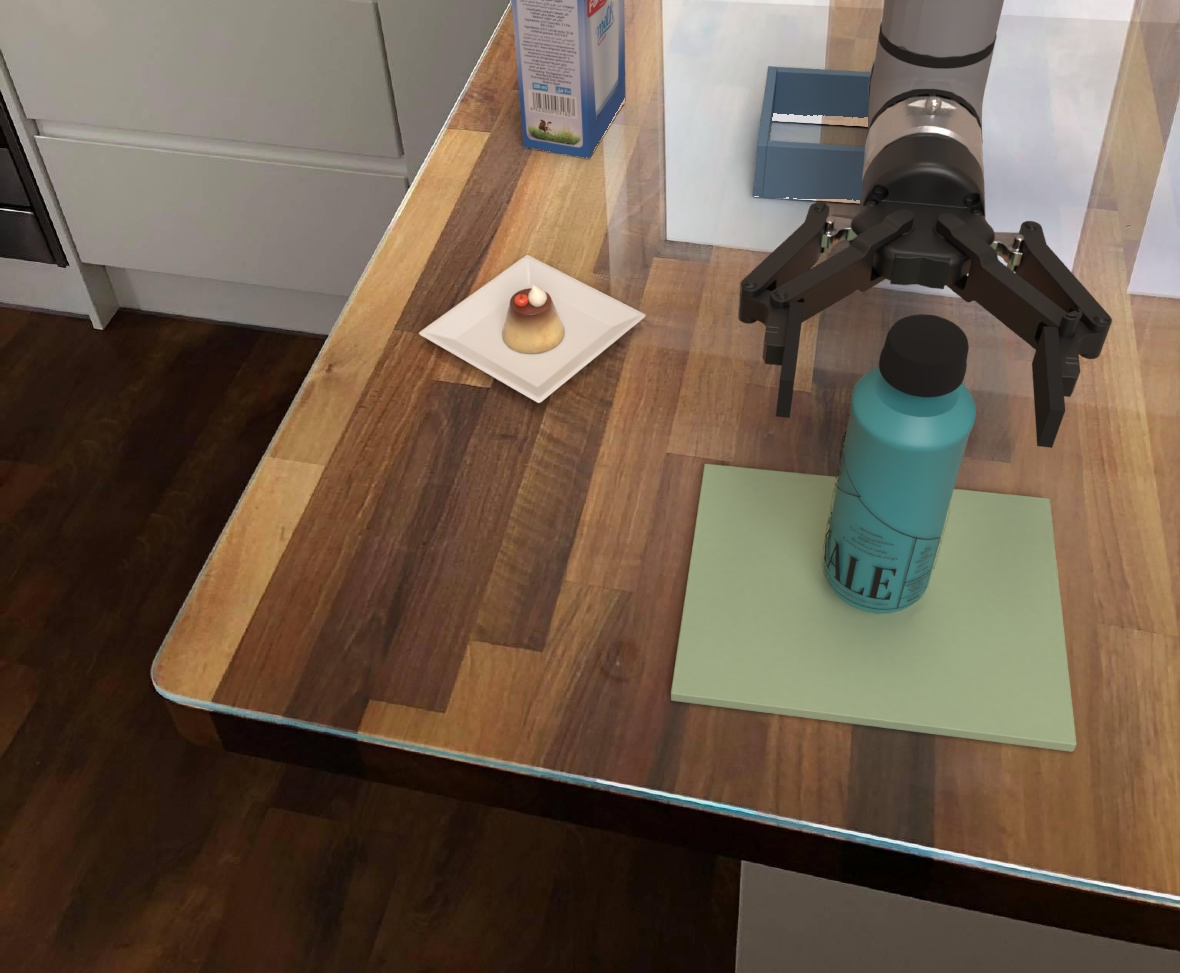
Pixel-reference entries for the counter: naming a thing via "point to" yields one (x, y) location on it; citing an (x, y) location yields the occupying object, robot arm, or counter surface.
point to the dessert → (532, 327)
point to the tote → (810, 164)
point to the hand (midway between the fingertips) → (915, 414)
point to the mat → (875, 618)
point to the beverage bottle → (899, 466)
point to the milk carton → (569, 71)
